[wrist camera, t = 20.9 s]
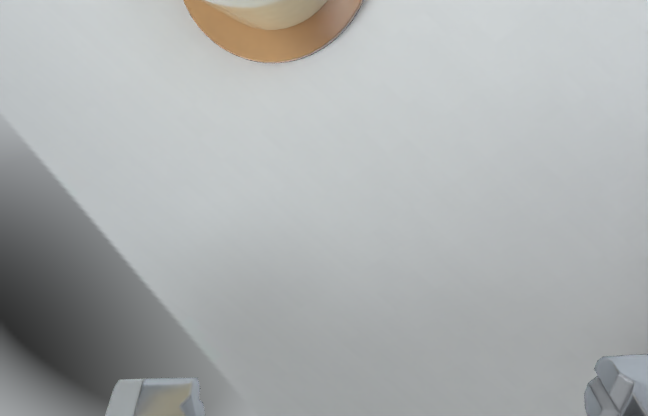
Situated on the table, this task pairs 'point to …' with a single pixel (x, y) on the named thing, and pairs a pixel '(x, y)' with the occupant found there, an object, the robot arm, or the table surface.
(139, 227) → the table surface
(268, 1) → the cylindrical canister
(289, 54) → the coaster
